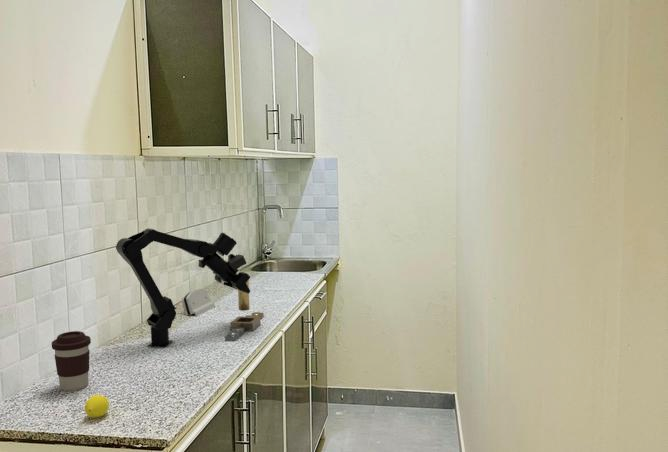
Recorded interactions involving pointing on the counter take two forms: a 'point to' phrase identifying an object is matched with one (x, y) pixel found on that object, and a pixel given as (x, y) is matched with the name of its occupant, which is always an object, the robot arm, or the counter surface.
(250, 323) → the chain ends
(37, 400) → the counter surface
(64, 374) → the coffee cup
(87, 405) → the lemon
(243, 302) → the brass pin
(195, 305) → the light grey block
